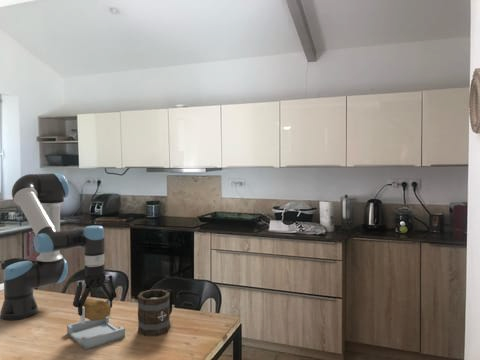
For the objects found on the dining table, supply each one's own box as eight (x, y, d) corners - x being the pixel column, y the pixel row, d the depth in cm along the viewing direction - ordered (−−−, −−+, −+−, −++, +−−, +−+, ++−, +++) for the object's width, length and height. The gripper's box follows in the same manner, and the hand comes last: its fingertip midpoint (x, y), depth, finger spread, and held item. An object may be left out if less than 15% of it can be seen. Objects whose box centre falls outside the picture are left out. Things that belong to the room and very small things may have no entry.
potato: (98, 327, 151) (98, 307, 150) (74, 320, 157) (73, 301, 157) (117, 318, 159) (117, 299, 159) (93, 312, 166) (93, 294, 166)
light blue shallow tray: (67, 333, 160) (67, 325, 160) (105, 322, 171) (105, 314, 171) (85, 349, 146) (84, 340, 146) (125, 336, 157) (125, 328, 157)
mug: (158, 339, 155) (157, 301, 154) (130, 333, 160) (130, 297, 160) (184, 320, 173) (184, 287, 172) (158, 316, 178) (158, 283, 178)
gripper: (69, 271, 147) (70, 330, 148) (124, 261, 162) (125, 314, 163) (62, 267, 152) (63, 324, 153) (116, 258, 168) (117, 309, 168)
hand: (95, 319), depth 158 cm, fingers closed on potato, 10 cm apart
